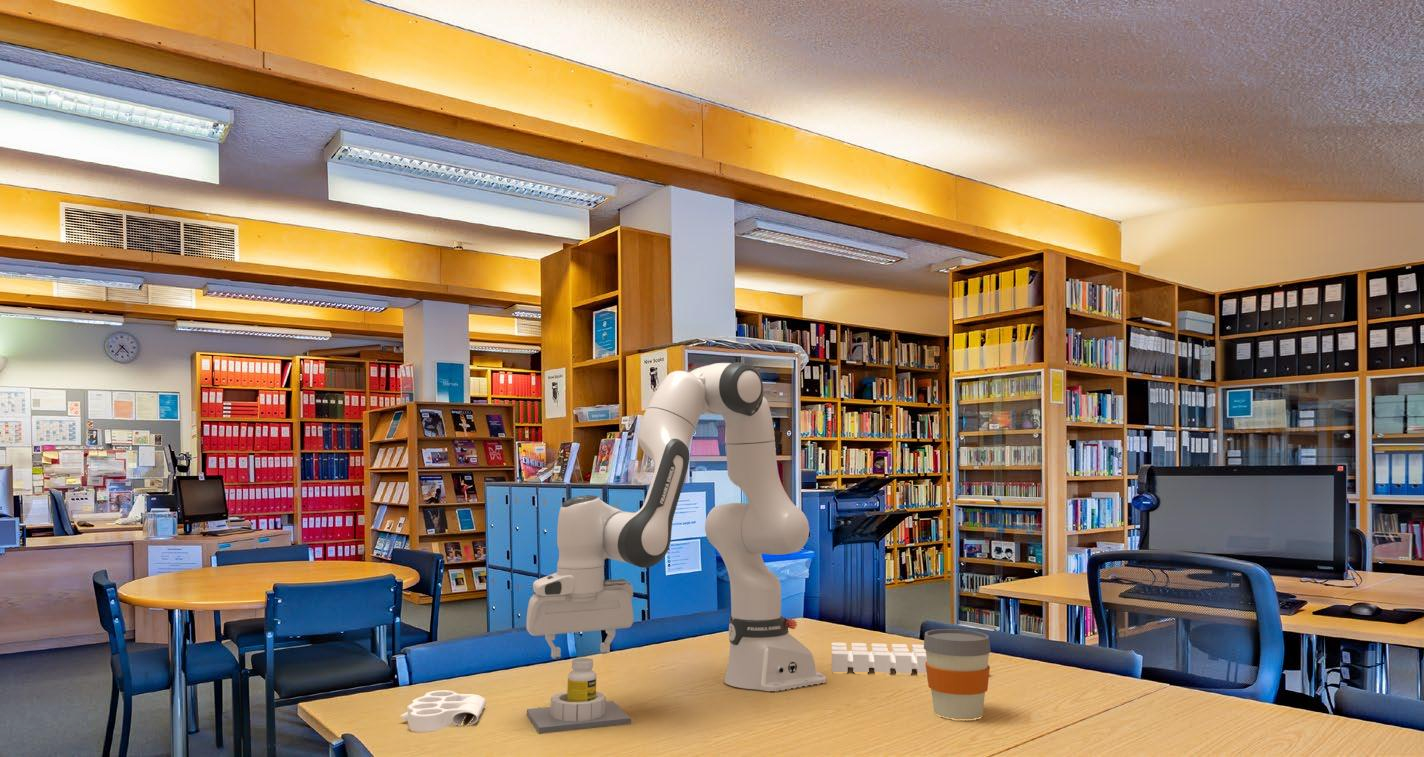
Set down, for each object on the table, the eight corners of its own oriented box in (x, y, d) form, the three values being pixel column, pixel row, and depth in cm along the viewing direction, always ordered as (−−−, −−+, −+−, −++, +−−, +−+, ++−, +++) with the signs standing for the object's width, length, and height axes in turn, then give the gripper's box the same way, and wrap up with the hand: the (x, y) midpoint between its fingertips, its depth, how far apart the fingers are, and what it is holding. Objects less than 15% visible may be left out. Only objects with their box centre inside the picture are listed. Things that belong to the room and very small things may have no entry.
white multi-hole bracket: (474, 733, 162) (390, 735, 160) (487, 706, 180) (412, 708, 178) (475, 714, 162) (391, 716, 161) (488, 688, 180) (412, 690, 178)
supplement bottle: (590, 718, 166) (591, 663, 167) (562, 716, 168) (563, 662, 168) (599, 710, 172) (600, 657, 173) (572, 708, 173) (573, 656, 174)
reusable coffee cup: (993, 709, 177) (991, 631, 178) (991, 726, 165) (989, 643, 166) (928, 703, 181) (926, 627, 182) (921, 720, 169) (919, 638, 170)
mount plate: (612, 705, 178) (613, 685, 179) (631, 723, 166) (631, 701, 167) (526, 714, 172) (527, 693, 173) (539, 733, 160) (539, 710, 161)
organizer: (831, 642, 220) (978, 646, 215) (831, 662, 219) (979, 666, 215) (831, 653, 207) (988, 658, 202) (832, 675, 206) (989, 679, 202)
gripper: (628, 575, 179) (629, 646, 178) (524, 582, 171) (524, 656, 170) (637, 580, 173) (638, 653, 172) (530, 587, 165) (530, 664, 164)
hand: (580, 655), depth 171 cm, fingers open, 8 cm apart
